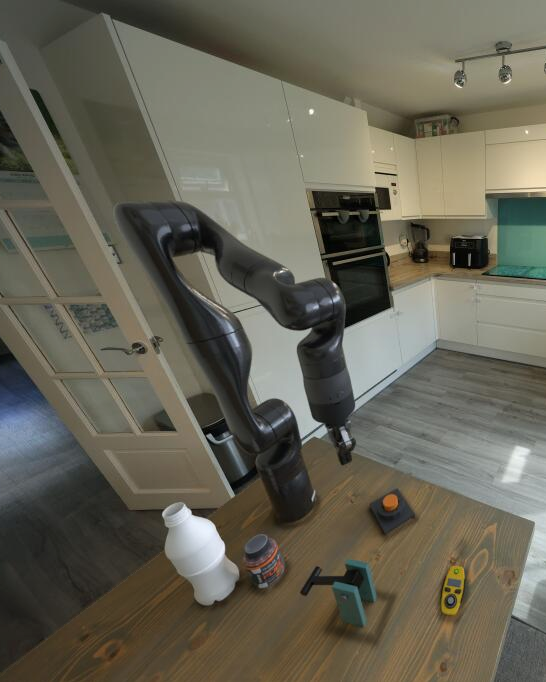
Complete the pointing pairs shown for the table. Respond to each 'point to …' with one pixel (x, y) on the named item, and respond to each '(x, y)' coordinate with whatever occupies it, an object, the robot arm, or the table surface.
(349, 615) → the pair of teal panels
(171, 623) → the table surface
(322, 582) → the lever
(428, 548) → the table surface
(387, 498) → the button
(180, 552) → the water bottle
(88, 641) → the table surface
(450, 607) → the remote control
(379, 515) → the control block
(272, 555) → the supplement bottle
